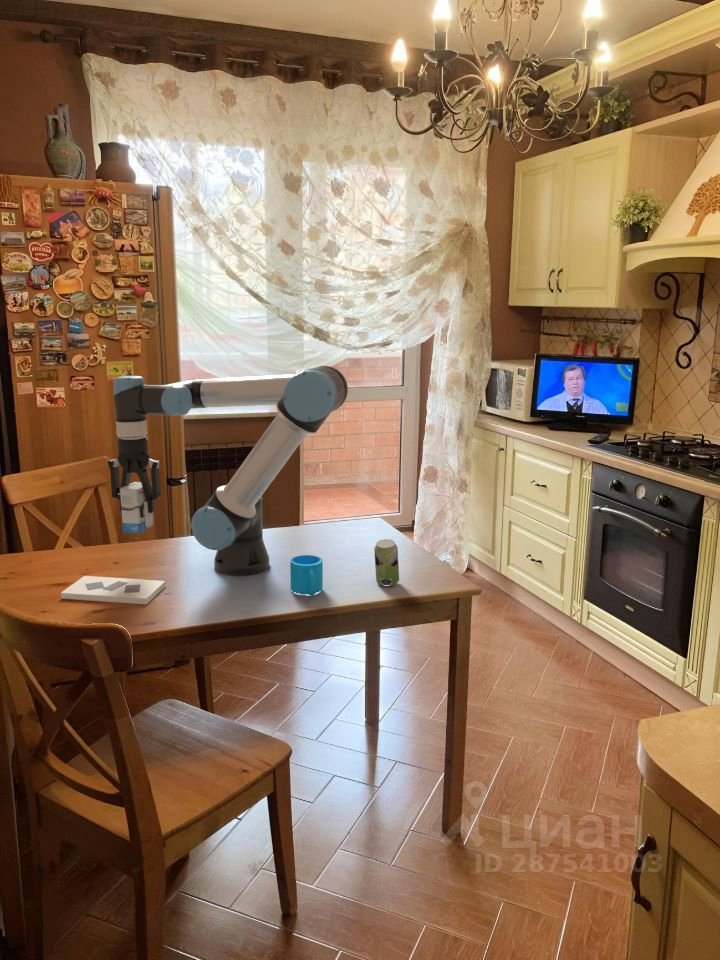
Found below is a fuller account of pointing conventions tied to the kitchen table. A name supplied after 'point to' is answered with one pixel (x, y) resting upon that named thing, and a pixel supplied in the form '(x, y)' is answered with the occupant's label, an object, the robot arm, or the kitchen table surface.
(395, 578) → the beverage can
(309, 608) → the kitchen table surface
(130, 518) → the ink box
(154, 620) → the kitchen table surface
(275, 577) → the kitchen table surface
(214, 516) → the robot arm
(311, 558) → the mug
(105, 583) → the board
